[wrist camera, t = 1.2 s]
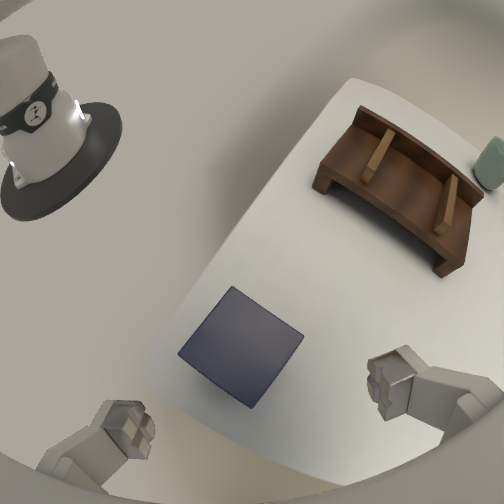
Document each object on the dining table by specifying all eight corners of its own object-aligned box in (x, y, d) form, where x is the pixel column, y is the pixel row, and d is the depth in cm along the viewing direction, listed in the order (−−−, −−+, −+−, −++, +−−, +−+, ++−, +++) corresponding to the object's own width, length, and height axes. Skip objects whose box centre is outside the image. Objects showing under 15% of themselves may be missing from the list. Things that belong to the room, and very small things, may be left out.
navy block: (206, 360, 25) (176, 354, 14) (236, 322, 27) (232, 284, 15) (247, 389, 24) (251, 409, 12) (276, 350, 26) (305, 335, 14)
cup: (474, 161, 41) (496, 132, 32) (496, 187, 39) (520, 160, 30) (465, 172, 39) (491, 140, 30) (489, 201, 37) (517, 172, 28)
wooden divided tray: (311, 187, 34) (326, 144, 27) (345, 143, 39) (360, 104, 31) (441, 278, 30) (479, 254, 22) (455, 219, 34) (483, 192, 27)
